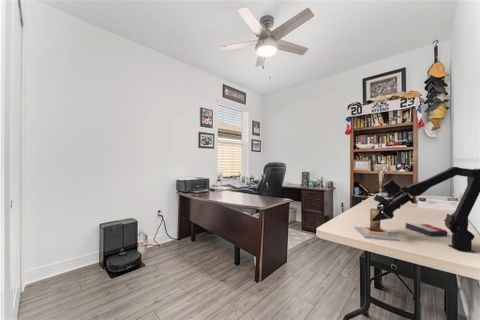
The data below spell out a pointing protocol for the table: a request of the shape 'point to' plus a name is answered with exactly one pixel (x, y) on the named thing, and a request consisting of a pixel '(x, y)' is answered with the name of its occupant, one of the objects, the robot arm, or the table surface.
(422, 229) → the grey and red box
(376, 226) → the column
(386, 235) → the plinth
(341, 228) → the table surface
